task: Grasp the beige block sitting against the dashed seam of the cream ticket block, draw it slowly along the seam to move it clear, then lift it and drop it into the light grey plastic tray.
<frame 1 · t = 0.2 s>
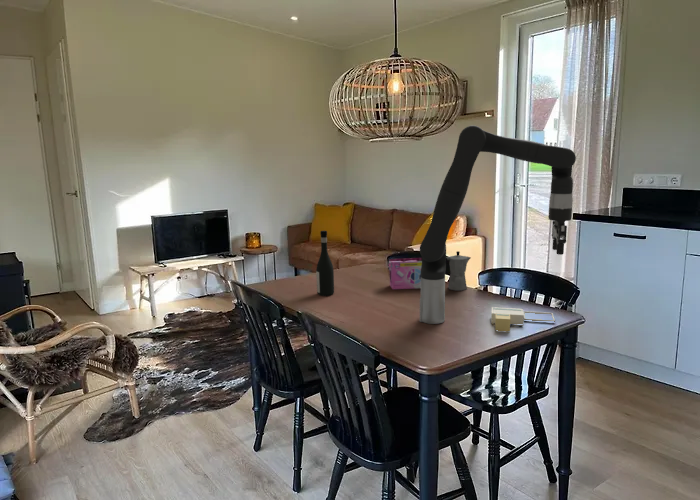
hand: (557, 252, 181), 28 cm above the table, tool pointing down, fingers open, 8 cm apart
wine bottle: (325, 294, 239), on the table
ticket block: (506, 321, 195), on the table
gum box: (413, 287, 250), on the table
coffeepot: (455, 288, 244), on the table
beige block: (502, 329, 187), on the table
tray: (538, 318, 197), on the table
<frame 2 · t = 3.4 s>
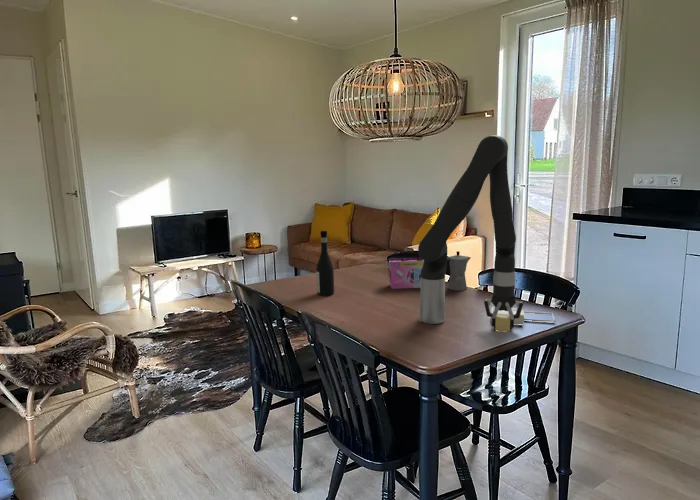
hand: (502, 327, 187), 0 cm above the table, tool pointing down, fingers closed on beige block, 5 cm apart
beige block: (502, 329, 187), on the table, touching gripper
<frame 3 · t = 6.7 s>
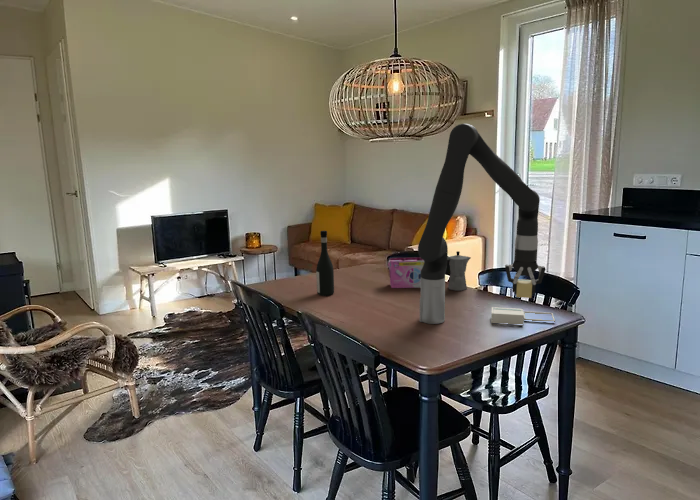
hand: (523, 293, 183), 14 cm above the table, tool pointing down, fingers closed on beige block, 5 cm apart
beige block: (523, 295, 183), point 13 cm above the table, touching gripper
when the fingers open (2 cm above the table, at t = 10.1 s): beige block drops 1 cm, resting on tray.
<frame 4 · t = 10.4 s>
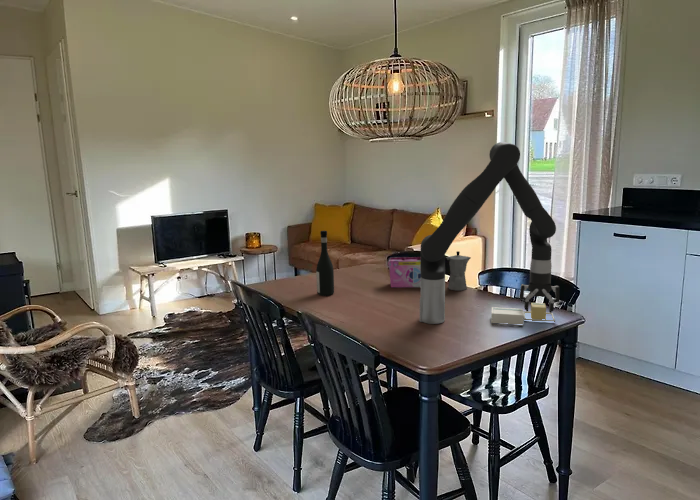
hand: (538, 311, 197), 3 cm above the table, tool pointing down, fingers open, 8 cm apart
beige block: (537, 317, 197), resting on tray
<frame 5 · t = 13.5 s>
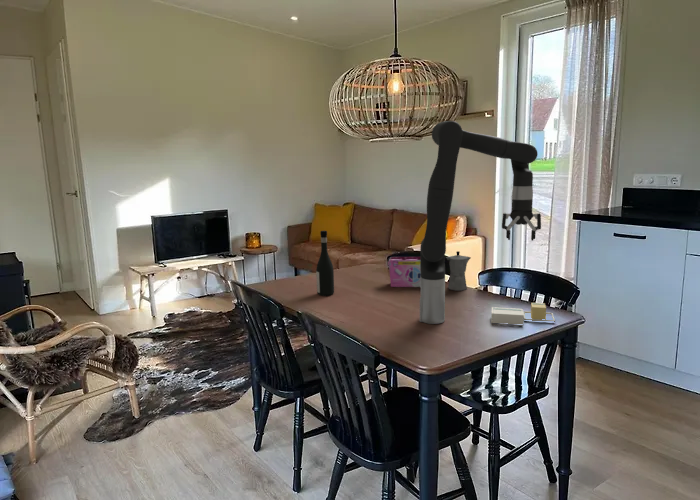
hand: (520, 240, 197), 30 cm above the table, tool pointing down, fingers open, 8 cm apart
at the end: beige block inside the target area on the tray (0.2 cm from its centre), point 0.4 cm above the tray's base; beige block moved 20.0 cm from its start; the gripper is holding nothing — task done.
